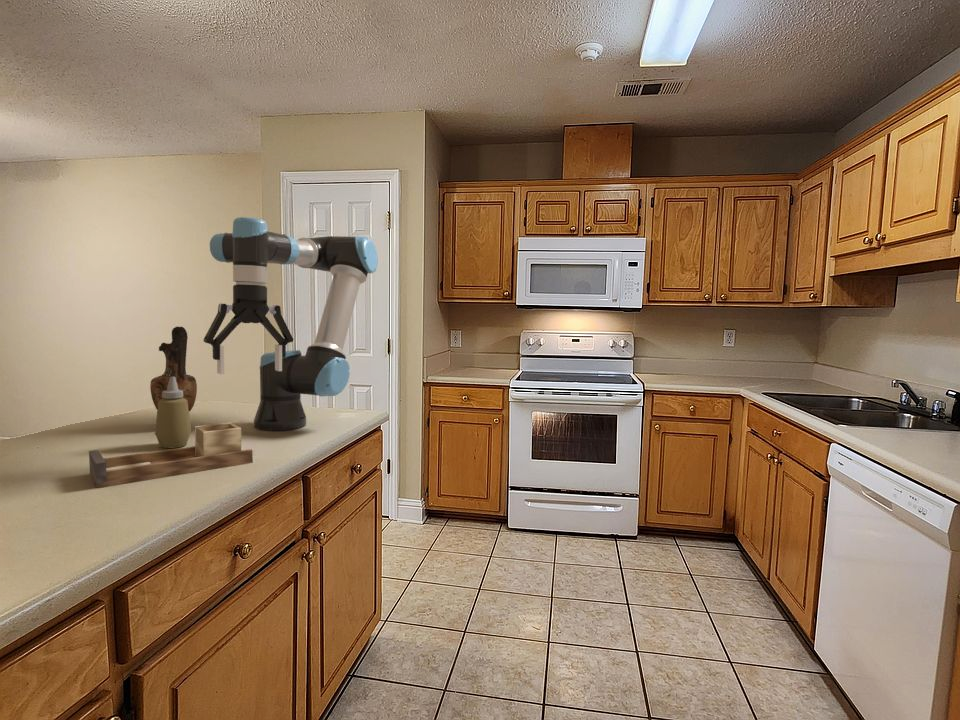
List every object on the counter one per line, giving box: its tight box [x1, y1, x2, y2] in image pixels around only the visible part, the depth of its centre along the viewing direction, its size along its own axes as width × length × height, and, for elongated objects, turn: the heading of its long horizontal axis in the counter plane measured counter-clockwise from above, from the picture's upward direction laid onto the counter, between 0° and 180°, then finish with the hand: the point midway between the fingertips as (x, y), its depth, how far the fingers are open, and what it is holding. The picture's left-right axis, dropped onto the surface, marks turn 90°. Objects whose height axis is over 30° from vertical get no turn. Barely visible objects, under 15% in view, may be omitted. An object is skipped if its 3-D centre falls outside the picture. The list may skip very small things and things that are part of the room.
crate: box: [194, 422, 242, 457], centre depth 123 cm, size 8×7×7 cm
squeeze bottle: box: [154, 377, 192, 449], centre depth 134 cm, size 8×8×18 cm
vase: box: [149, 326, 198, 413], centre depth 152 cm, size 12×12×30 cm
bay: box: [88, 445, 254, 489], centre depth 117 cm, size 30×11×5 cm, turn 133°
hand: (250, 372), depth 127 cm, fingers open, 13 cm apart
